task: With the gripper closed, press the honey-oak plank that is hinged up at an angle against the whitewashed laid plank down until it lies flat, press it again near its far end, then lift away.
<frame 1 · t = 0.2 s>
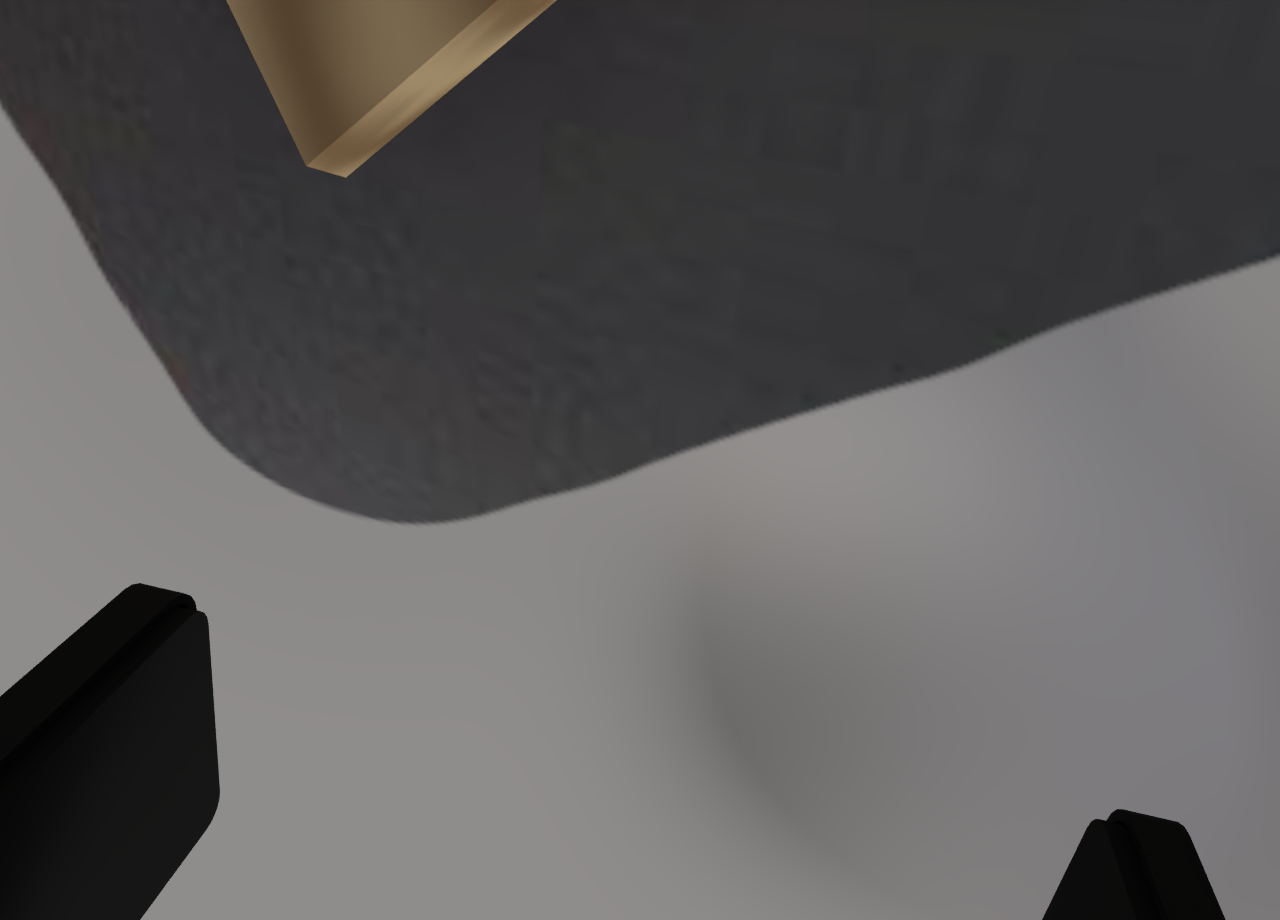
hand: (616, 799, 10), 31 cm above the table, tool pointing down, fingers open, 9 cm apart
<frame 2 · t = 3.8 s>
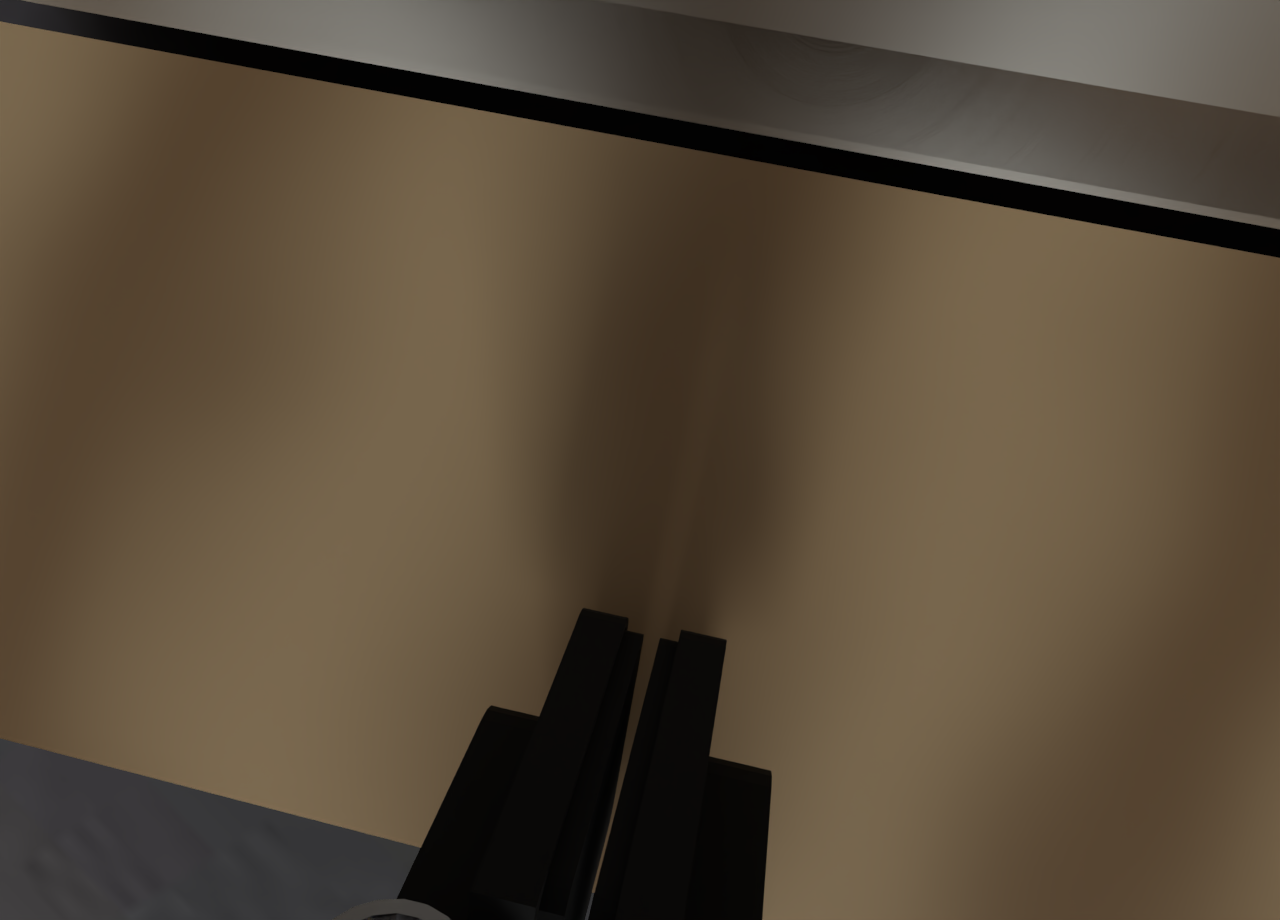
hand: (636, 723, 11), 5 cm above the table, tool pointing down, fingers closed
oak plank: (700, 533, 13), point 3 cm above the table, hinge at 22.0°, touching gripper
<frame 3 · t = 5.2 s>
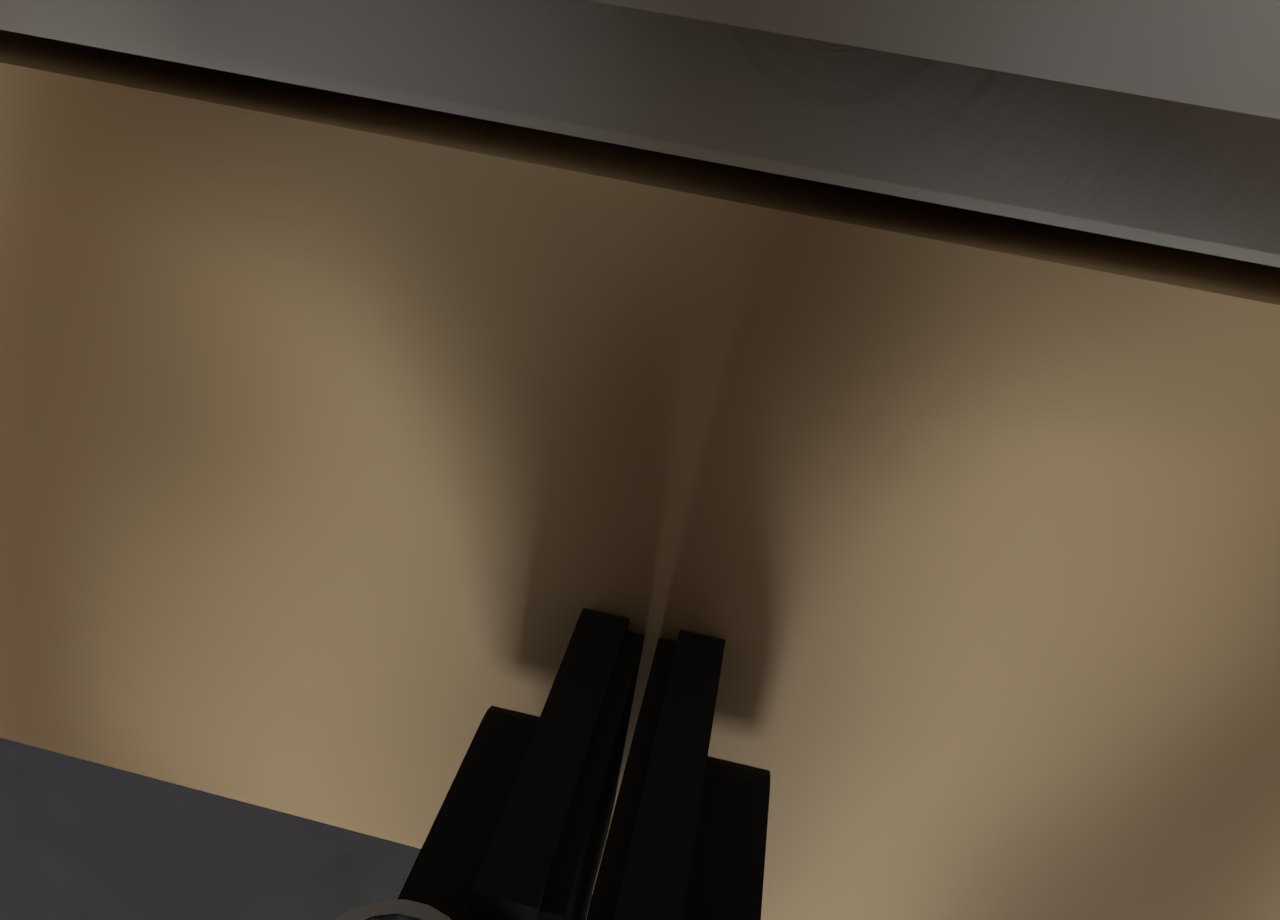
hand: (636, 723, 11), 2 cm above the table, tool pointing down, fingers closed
oak plank: (715, 577, 12), point 1 cm above the table, hinge at 0.6°, touching gripper
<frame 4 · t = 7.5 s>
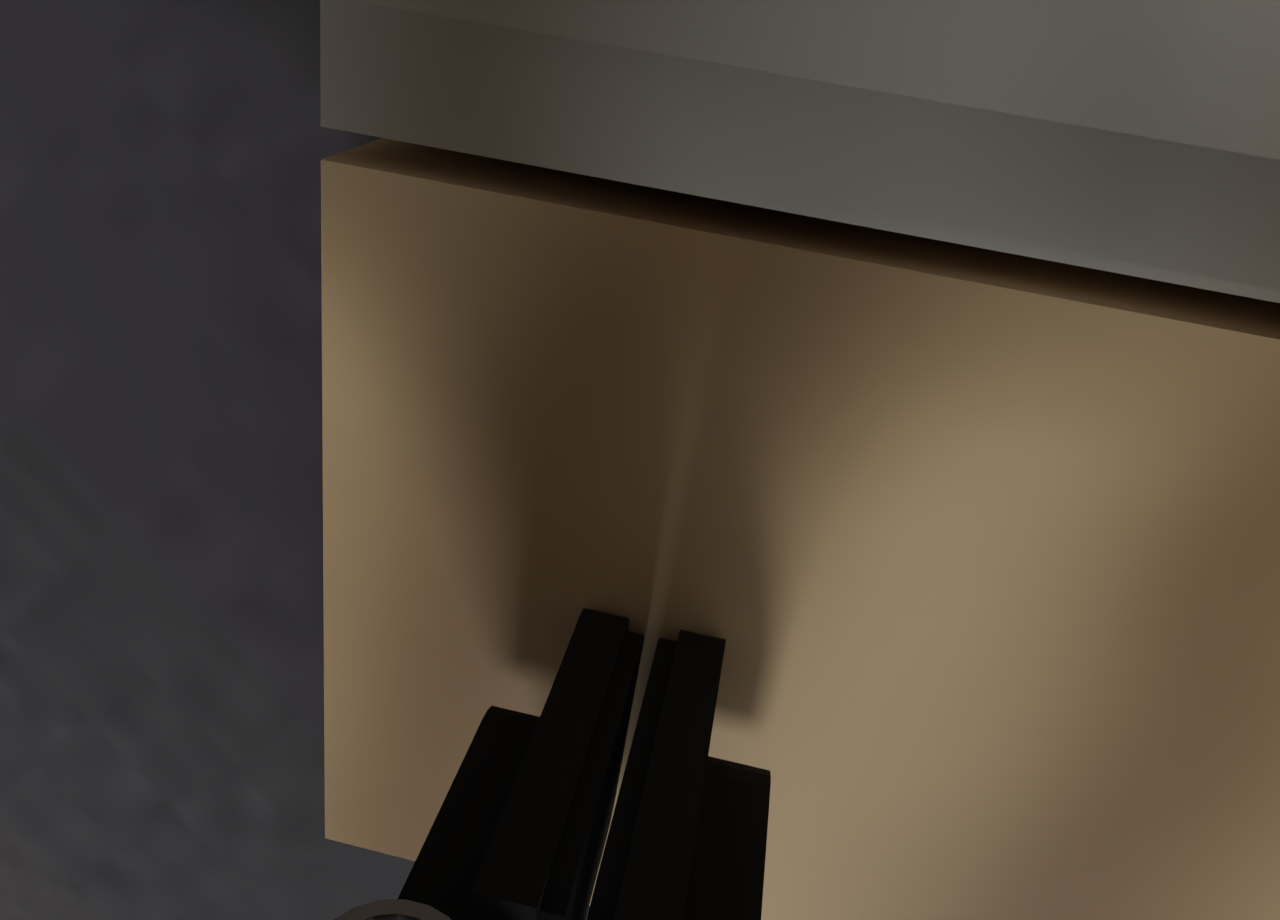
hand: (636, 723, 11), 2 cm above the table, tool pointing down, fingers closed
oak plank: (1194, 703, 11), point 1 cm above the table, hinge at -0.3°, touching gripper
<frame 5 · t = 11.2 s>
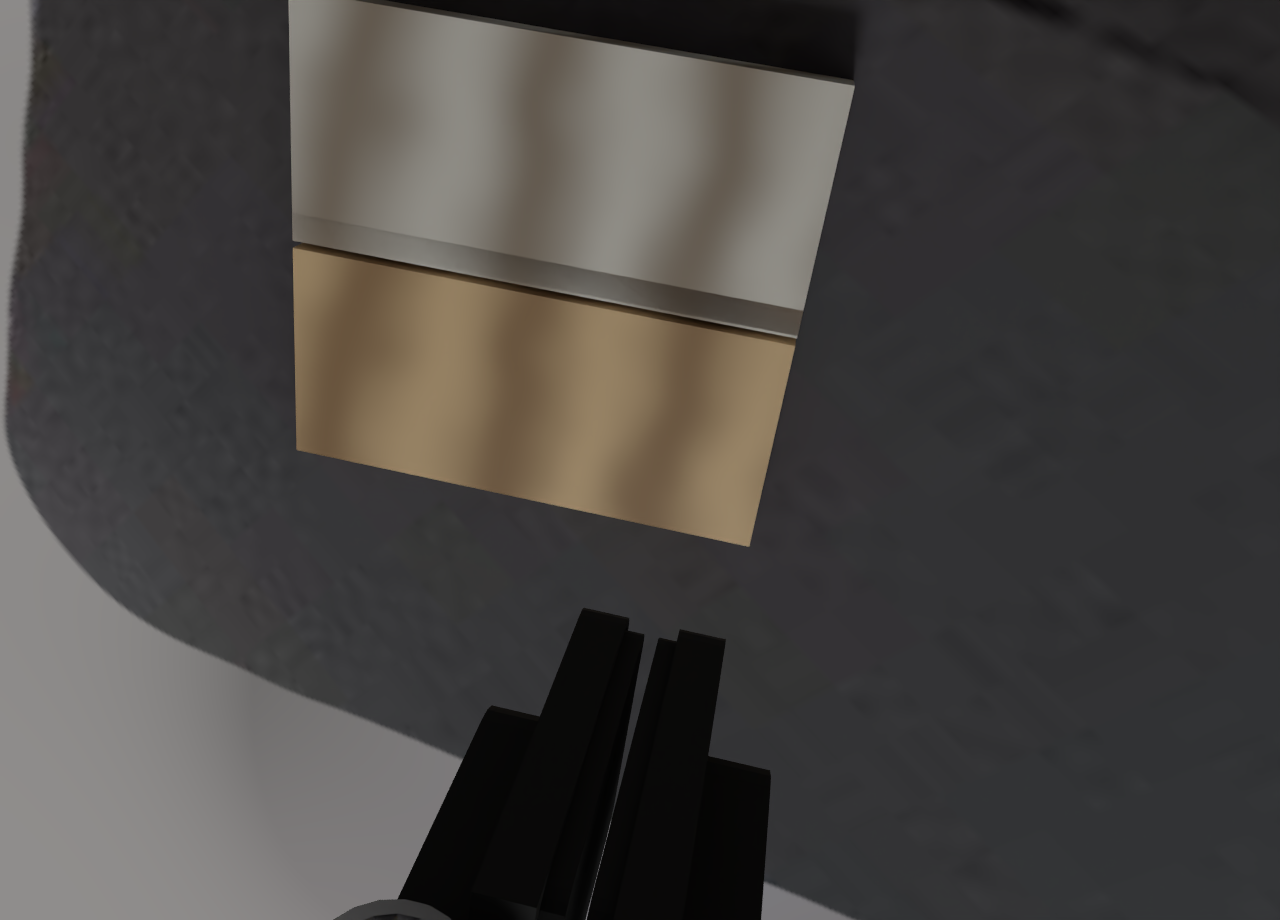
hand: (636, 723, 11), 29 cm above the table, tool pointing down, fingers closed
oak plank: (534, 392, 41), point 1 cm above the table, hinge at -0.3°
laid plank: (565, 159, 38), on the table
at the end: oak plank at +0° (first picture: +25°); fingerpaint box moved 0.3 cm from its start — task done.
